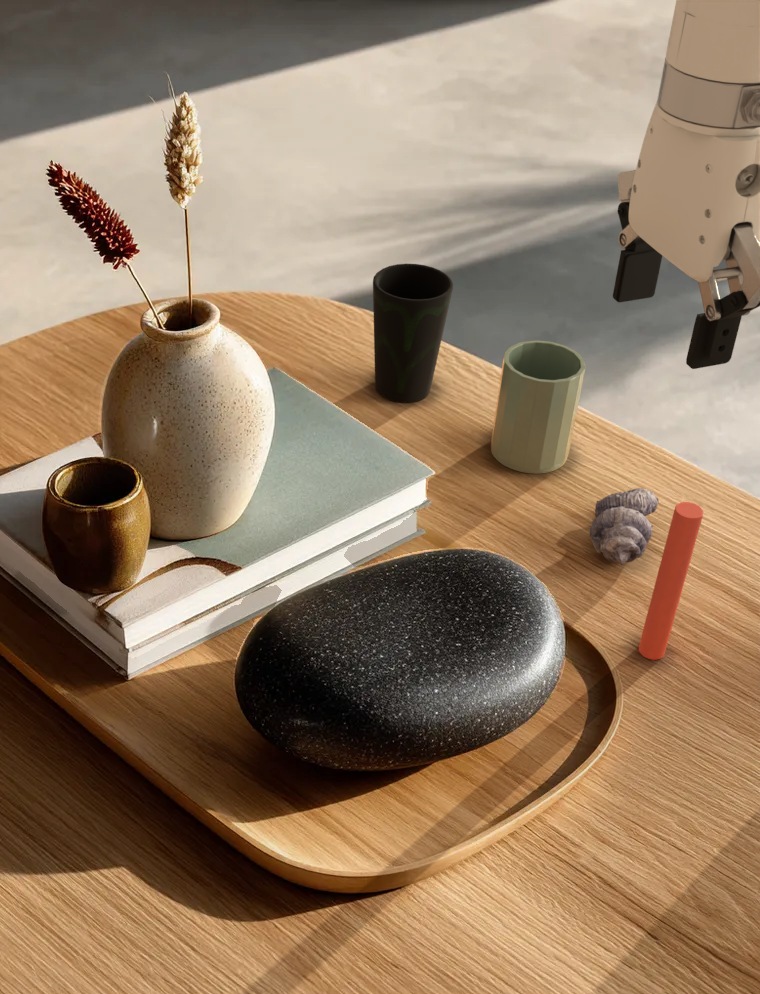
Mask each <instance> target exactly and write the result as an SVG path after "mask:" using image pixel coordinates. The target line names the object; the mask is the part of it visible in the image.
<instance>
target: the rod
mask: <svg viewBox="0 0 760 994" xmlns="http://www.w3.org/2000/svg"><path fill="white" fill-rule="evenodd" d="M703 516H704V510H703V508H702V507H701V506H699V504H697V503H694V502H690V501H682V502H679V503H677V504H676V505H675V507H674V509H673V513H672V518H671V522H670V525H669V529H668V533H667V537H666V540H665V545H664V548H663V552H662V555H661V560H660V564H659V567H658V572H657V574H656V575H657V576H656V580H655V583H654V587H653V591H652V594H651V599H650V602H649V606H648V610H647V614H646V617H645V621H644V625H643V629H642V632H641V637H640V641H639V644H638V652H639V654H640V655H641V656H642V657H644V658H645V659H648V660H653V661H656V660H657V661H658V660H661V659H662V658H663V657H665V653H666V650H667V646H668V643H669V640H670V636H671V633H672V629H673V625H674V622H675V617H676V613H677V610H678V607H679V603H680V600H681V596H682V592H683V589H684V585H685V581H686V578H687V574H688V571H689V567H690V564H691V560H692V557H693V553H694V549H695V545H696V542H697V539H698V534H699V532H700V529H701V528H700V527H701V524H702V520H703V518H704V517H703Z"/></svg>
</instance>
